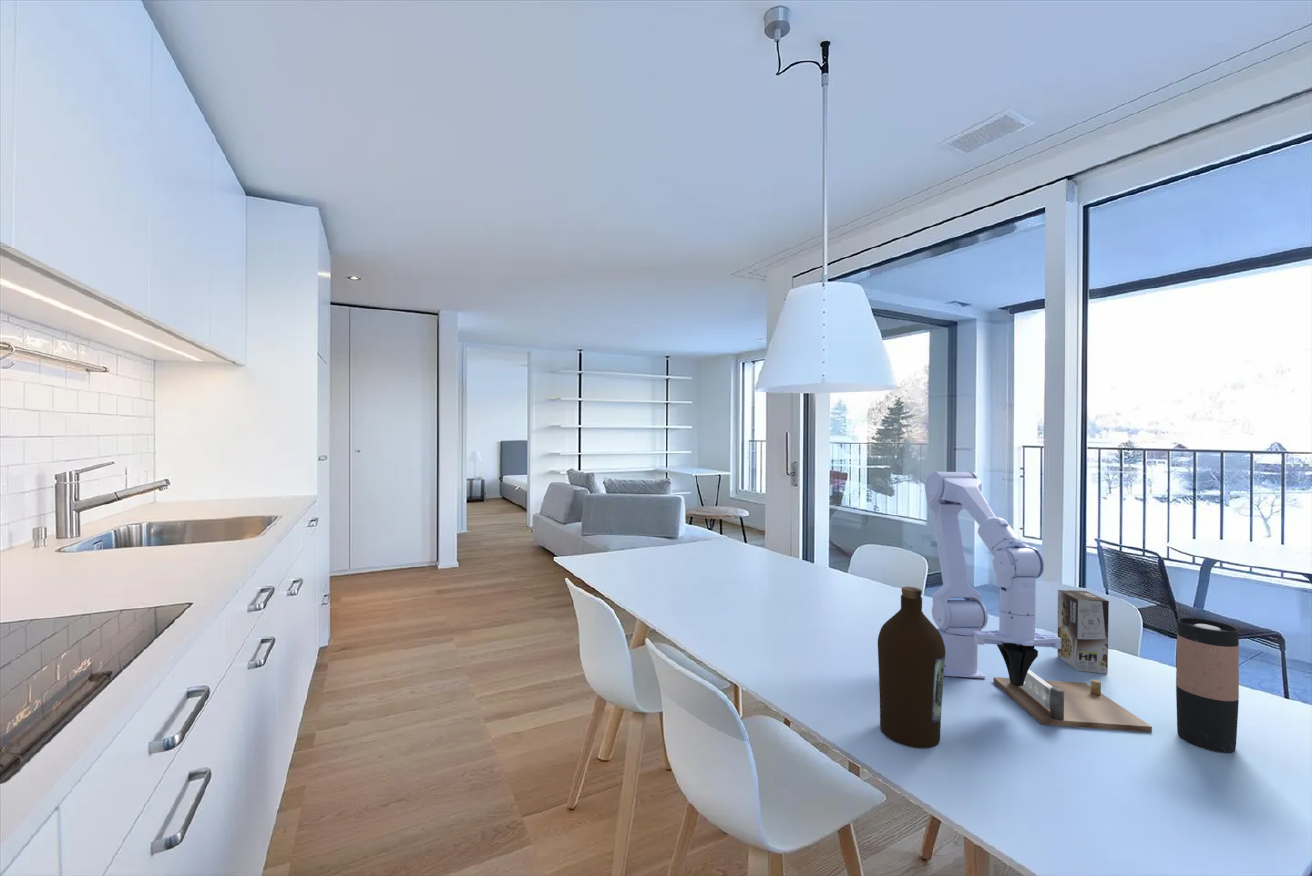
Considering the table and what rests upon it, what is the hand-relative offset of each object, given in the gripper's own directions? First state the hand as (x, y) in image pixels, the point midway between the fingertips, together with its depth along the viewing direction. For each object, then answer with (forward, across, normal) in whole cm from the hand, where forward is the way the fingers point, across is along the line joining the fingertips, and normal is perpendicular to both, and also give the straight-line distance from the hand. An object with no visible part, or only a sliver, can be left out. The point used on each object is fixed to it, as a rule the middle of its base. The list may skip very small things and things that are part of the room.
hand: (1016, 683), depth 105 cm
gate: (+3, +5, +3) cm, 7 cm away
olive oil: (+5, -23, -12) cm, 26 cm away
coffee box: (+5, +27, +26) cm, 38 cm away
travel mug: (+5, +27, -7) cm, 28 cm away
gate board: (+5, +11, +4) cm, 13 cm away
